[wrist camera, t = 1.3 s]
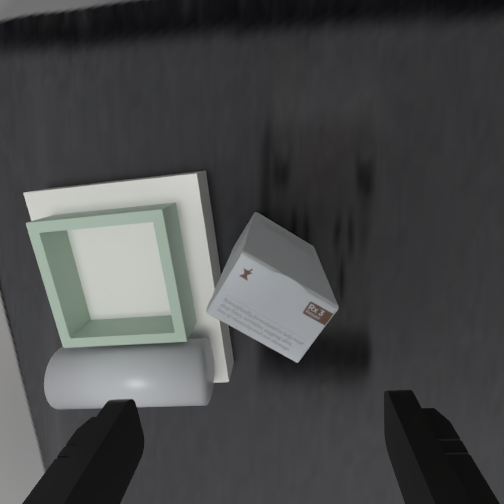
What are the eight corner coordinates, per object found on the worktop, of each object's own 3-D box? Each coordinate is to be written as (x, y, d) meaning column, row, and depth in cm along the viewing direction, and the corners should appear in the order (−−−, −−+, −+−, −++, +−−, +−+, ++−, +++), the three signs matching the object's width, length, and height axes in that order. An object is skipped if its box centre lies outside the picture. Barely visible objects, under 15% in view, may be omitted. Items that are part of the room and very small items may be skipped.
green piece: (175, 202, 26) (162, 209, 23) (196, 322, 29) (186, 341, 26) (52, 214, 27) (25, 222, 24) (84, 328, 30) (63, 347, 27)
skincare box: (230, 251, 30) (195, 316, 18) (256, 207, 29) (236, 247, 17) (291, 286, 30) (294, 371, 19) (319, 244, 29) (341, 308, 17)
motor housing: (205, 170, 28) (175, 179, 20) (233, 361, 33) (218, 425, 26) (48, 188, 30) (-34, 202, 22) (97, 367, 35) (44, 429, 27)
